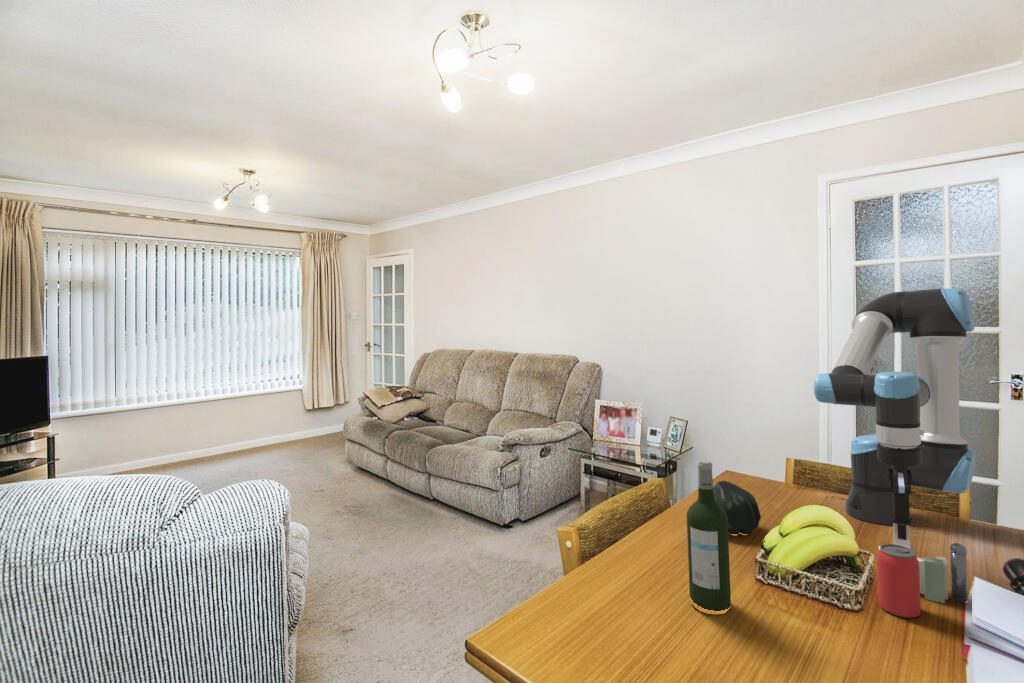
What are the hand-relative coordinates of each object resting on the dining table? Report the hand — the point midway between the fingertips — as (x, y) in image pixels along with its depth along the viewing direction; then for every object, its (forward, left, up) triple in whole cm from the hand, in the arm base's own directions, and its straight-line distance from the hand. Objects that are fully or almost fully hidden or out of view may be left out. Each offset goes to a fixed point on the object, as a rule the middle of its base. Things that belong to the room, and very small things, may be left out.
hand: (902, 551), depth 105 cm
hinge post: (+3, +9, -7) cm, 11 cm away
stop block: (+5, +5, -7) cm, 10 cm away
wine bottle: (+30, -33, -7) cm, 45 cm away
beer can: (+13, -1, -7) cm, 14 cm away
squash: (-10, -37, -7) cm, 39 cm away
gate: (+3, +1, -7) cm, 8 cm away
